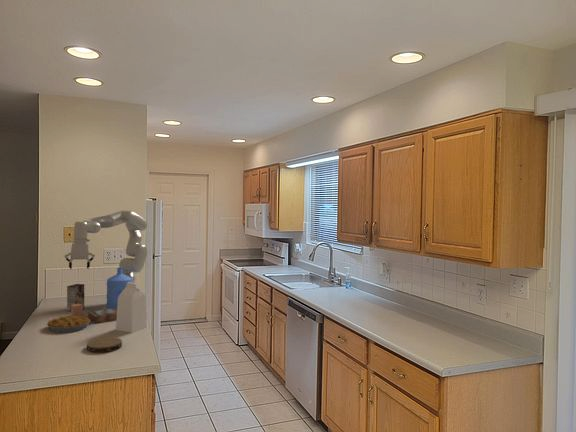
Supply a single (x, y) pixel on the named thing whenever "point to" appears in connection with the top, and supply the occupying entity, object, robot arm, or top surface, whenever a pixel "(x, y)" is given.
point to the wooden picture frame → (103, 315)
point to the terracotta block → (76, 310)
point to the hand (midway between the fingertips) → (79, 268)
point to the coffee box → (75, 295)
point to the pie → (68, 323)
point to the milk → (131, 309)
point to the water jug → (116, 288)
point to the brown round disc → (104, 345)
